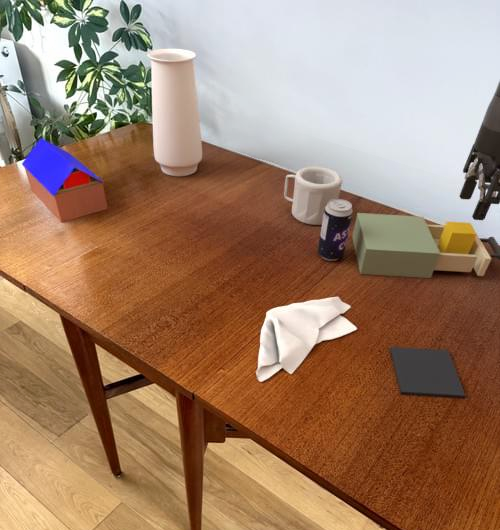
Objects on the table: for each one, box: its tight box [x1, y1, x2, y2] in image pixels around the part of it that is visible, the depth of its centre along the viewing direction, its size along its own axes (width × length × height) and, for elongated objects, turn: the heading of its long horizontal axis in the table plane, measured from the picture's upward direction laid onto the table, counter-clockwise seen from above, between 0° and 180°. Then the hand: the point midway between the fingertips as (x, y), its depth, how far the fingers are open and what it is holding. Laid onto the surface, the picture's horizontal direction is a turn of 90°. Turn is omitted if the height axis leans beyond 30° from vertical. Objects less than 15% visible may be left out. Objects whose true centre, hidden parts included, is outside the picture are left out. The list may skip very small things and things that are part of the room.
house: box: [21, 137, 108, 223], centre depth 110 cm, size 12×20×12 cm, turn 38°
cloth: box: [255, 296, 358, 383], centre depth 81 cm, size 26×14×2 cm, turn 130°
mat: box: [389, 346, 466, 399], centre depth 76 cm, size 10×10×1 cm
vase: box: [147, 48, 203, 177], centre depth 119 cm, size 13×13×28 cm
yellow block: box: [438, 221, 478, 254], centre depth 97 cm, size 5×4×6 cm
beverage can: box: [317, 198, 354, 262], centre depth 96 cm, size 6×6×12 cm
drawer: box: [426, 223, 500, 277], centre depth 99 cm, size 18×13×4 cm
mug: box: [283, 166, 343, 226], centre depth 110 cm, size 14×11×10 cm
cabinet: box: [351, 212, 440, 279], centre depth 99 cm, size 15×15×6 cm
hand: (470, 208), depth 92 cm, fingers open, 8 cm apart
